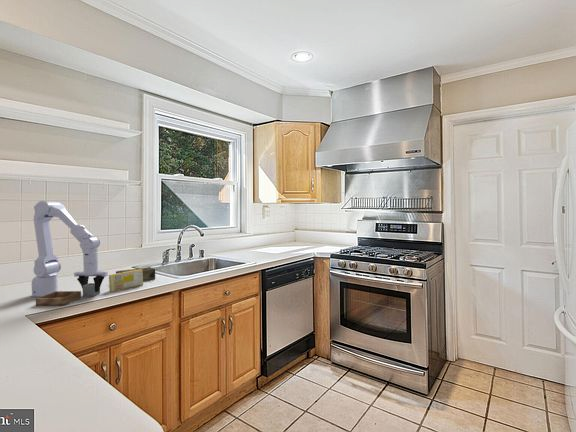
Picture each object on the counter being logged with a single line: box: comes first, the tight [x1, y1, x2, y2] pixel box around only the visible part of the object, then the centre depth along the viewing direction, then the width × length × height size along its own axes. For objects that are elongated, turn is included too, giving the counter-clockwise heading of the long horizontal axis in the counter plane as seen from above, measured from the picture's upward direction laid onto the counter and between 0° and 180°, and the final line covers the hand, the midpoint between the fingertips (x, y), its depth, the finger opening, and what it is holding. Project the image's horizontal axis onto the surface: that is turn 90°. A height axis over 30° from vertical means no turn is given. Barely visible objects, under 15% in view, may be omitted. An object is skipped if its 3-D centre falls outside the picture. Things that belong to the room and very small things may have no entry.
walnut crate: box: [35, 290, 82, 307], centre depth 142 cm, size 12×12×3 cm
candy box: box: [108, 268, 144, 292], centre depth 165 cm, size 16×2×8 cm, turn 141°
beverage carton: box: [115, 266, 156, 282], centre depth 180 cm, size 8×19×7 cm, turn 132°
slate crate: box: [82, 282, 101, 298], centre depth 152 cm, size 5×5×5 cm
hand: (91, 291), depth 152 cm, fingers closed on slate crate, 5 cm apart
